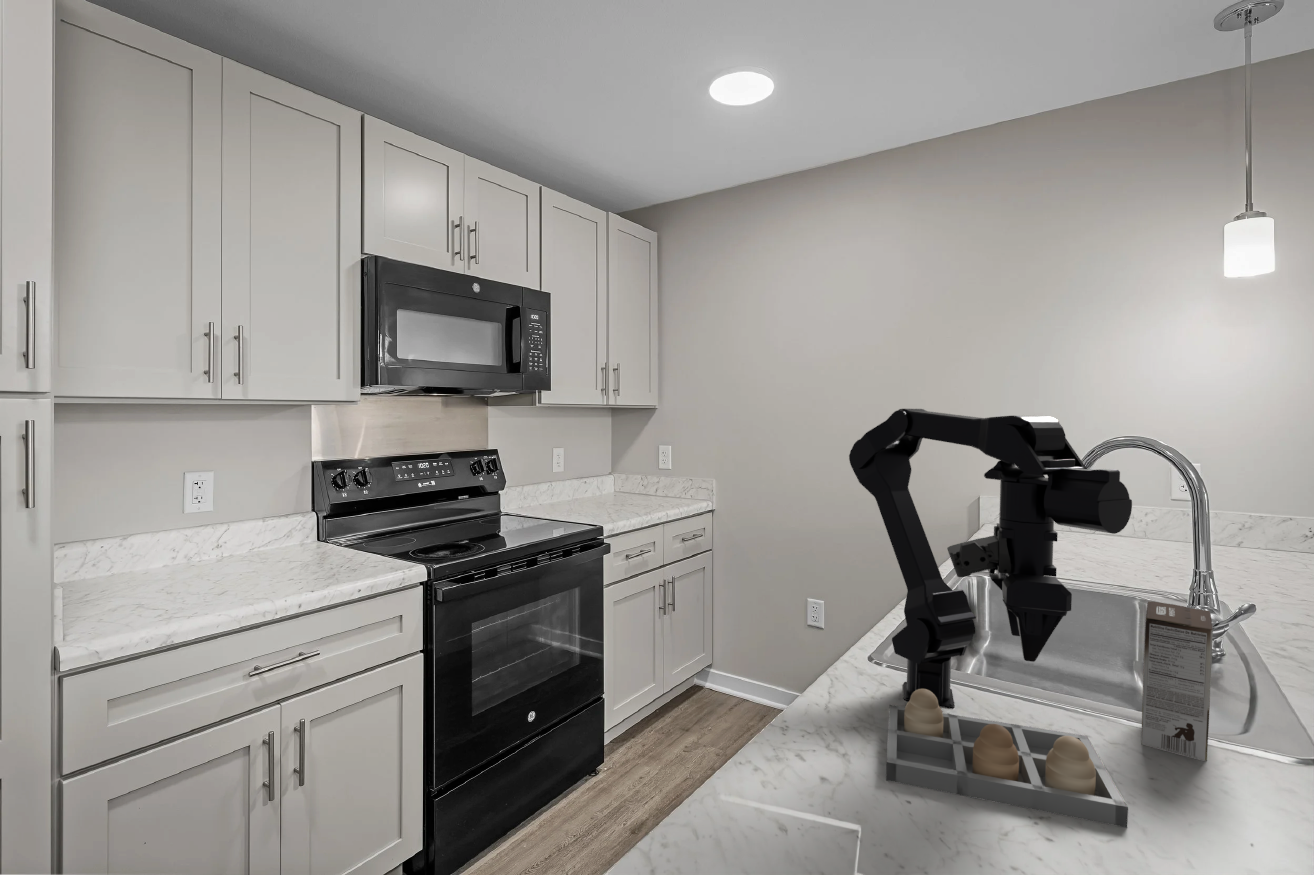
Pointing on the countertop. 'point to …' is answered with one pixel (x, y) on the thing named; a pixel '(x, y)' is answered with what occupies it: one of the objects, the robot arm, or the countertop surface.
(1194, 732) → the coffee box
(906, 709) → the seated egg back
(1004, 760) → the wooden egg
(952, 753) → the egg carton
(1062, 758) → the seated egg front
